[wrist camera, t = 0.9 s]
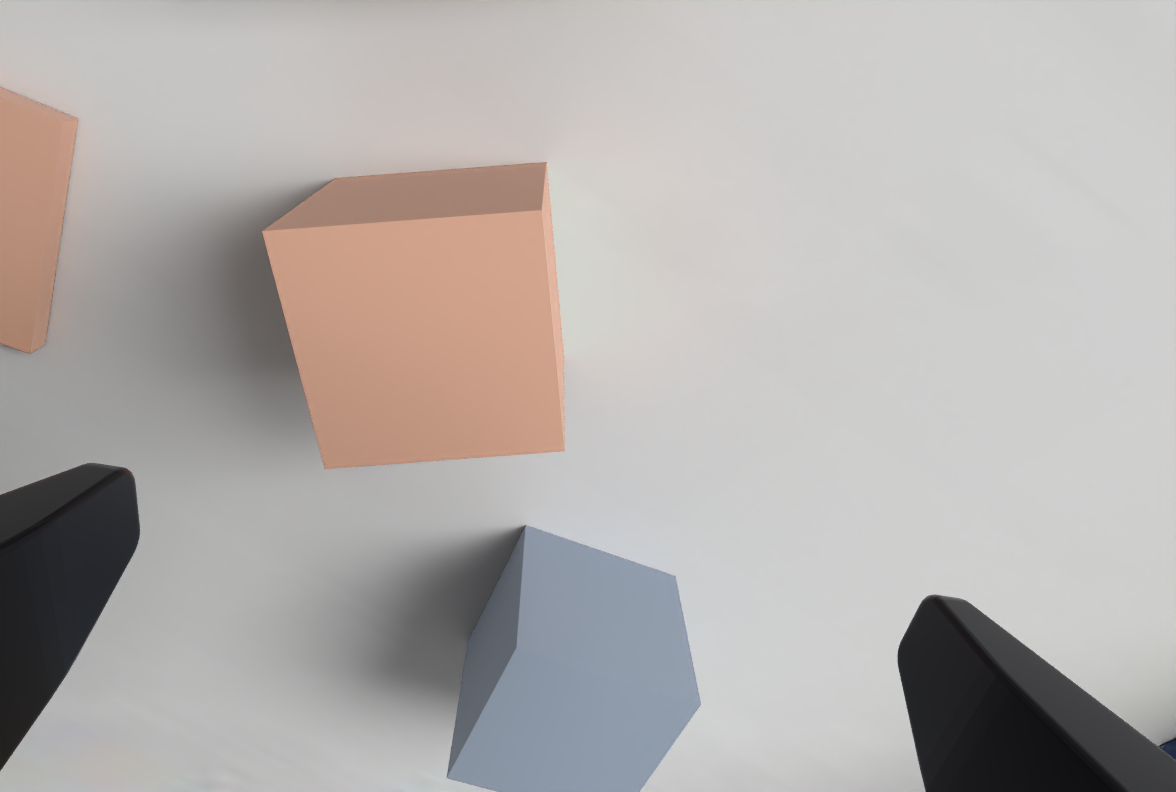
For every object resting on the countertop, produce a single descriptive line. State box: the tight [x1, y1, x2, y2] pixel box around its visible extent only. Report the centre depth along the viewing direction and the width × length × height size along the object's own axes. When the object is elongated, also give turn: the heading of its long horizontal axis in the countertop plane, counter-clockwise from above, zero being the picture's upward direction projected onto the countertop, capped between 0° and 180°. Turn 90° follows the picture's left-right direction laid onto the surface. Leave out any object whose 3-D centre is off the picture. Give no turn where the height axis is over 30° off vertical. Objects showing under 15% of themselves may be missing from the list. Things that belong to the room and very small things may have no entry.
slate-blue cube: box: [447, 525, 701, 792], centre depth 22 cm, size 5×5×5 cm
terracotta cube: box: [262, 162, 565, 469], centre depth 17 cm, size 5×5×5 cm
